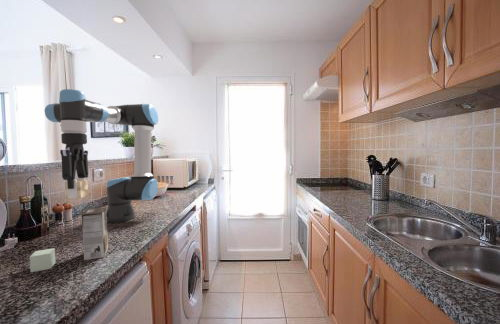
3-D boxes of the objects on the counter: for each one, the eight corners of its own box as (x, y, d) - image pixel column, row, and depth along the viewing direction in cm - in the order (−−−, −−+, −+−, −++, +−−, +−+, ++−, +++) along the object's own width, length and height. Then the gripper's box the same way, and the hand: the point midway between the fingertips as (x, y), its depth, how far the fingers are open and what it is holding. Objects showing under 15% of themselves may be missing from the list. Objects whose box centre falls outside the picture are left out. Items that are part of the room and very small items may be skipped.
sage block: (36, 265, 79) (35, 251, 79) (55, 262, 81) (54, 248, 81) (30, 272, 74) (29, 256, 74) (50, 268, 77) (49, 253, 76)
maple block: (73, 196, 90) (72, 180, 90) (88, 195, 91) (87, 180, 90) (65, 198, 85) (64, 182, 85) (80, 198, 86) (80, 181, 86)
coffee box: (89, 251, 90) (86, 208, 89) (108, 247, 92) (106, 206, 92) (83, 260, 82) (80, 214, 81) (105, 257, 84) (102, 212, 83)
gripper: (76, 135, 95) (79, 193, 96) (45, 130, 78) (49, 201, 78) (97, 135, 97) (99, 192, 97) (71, 130, 79) (74, 200, 79)
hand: (77, 196), depth 88 cm, fingers closed on maple block, 5 cm apart
